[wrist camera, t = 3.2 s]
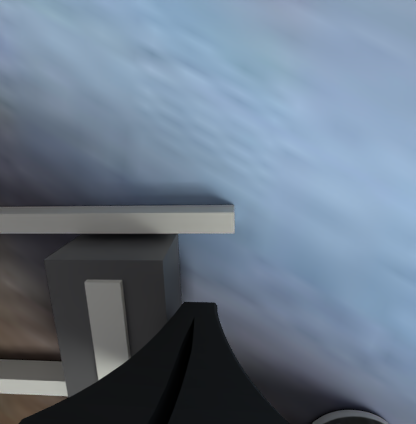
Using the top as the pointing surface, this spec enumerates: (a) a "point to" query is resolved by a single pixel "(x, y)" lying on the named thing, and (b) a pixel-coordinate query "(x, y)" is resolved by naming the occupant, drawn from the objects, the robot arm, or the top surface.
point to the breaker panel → (96, 224)
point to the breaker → (110, 299)
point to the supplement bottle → (350, 418)
